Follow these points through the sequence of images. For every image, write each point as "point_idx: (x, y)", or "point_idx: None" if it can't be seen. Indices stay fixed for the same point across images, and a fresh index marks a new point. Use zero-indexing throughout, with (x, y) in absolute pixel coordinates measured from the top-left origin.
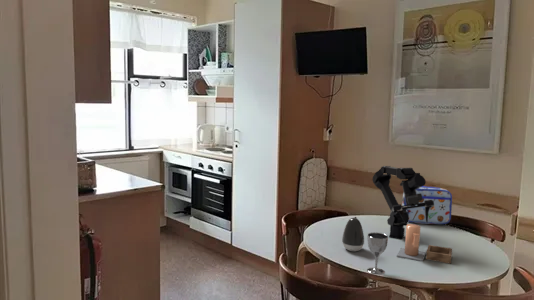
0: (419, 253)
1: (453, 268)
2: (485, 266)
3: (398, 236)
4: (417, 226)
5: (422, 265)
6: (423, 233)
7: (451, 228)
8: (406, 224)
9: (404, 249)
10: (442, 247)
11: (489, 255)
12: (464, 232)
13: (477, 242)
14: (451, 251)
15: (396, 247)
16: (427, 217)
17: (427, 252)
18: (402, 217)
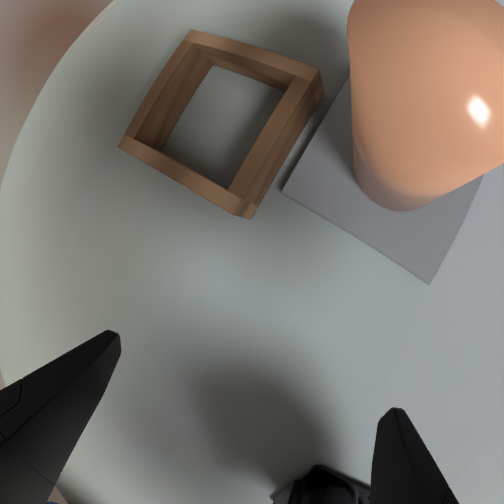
0: (337, 166)
1: (229, 6)
2: (91, 63)
3: (329, 484)
4: (400, 20)
5: None
6: (155, 493)
7: None
8: (403, 413)
9: (416, 251)
10: (161, 162)
11: (22, 188)
12: None
13: (8, 334)
14: (148, 94)
15: (439, 321)
16: (56, 363)
17: (313, 68)
18: (456, 501)
